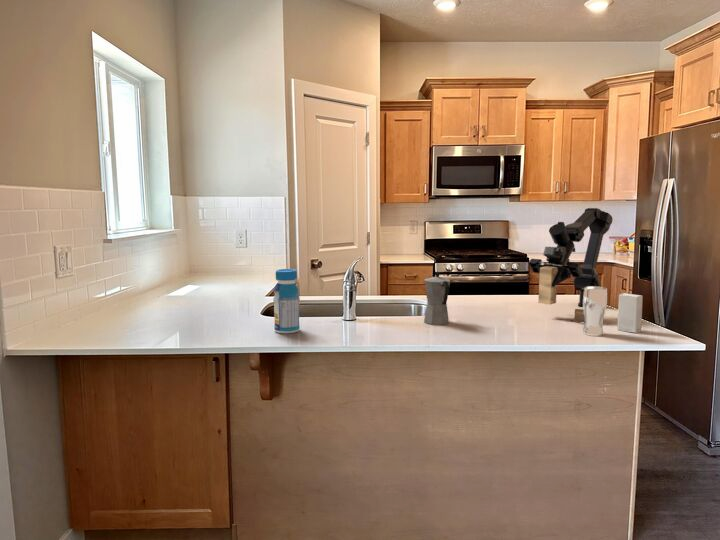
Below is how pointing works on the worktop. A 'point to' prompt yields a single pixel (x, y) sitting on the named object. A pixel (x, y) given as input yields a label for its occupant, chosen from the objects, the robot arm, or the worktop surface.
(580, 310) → the square wooden tray
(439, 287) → the coffeepot
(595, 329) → the beer glass
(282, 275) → the beverage bottle
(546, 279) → the pillar block
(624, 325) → the skincare box
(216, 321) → the worktop surface
